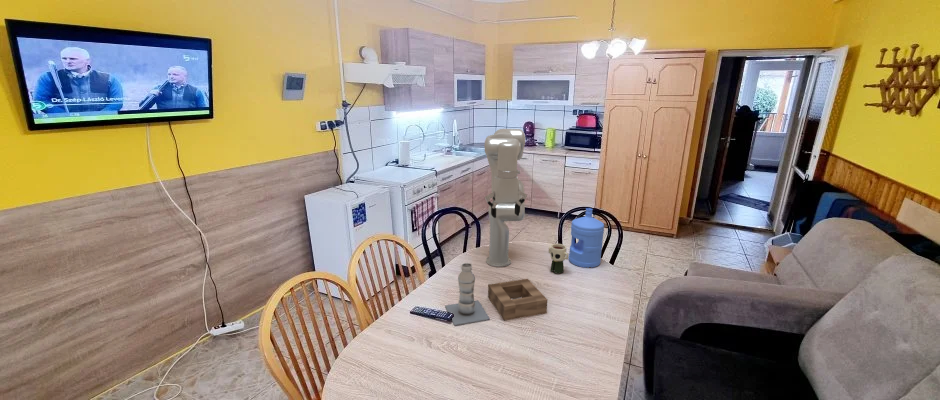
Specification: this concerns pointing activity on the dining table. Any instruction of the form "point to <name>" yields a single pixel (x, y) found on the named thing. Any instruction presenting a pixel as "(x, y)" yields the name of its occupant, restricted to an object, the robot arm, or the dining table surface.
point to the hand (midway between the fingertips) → (505, 215)
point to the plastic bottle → (466, 289)
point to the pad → (462, 318)
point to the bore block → (521, 307)
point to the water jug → (586, 241)
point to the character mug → (558, 257)
